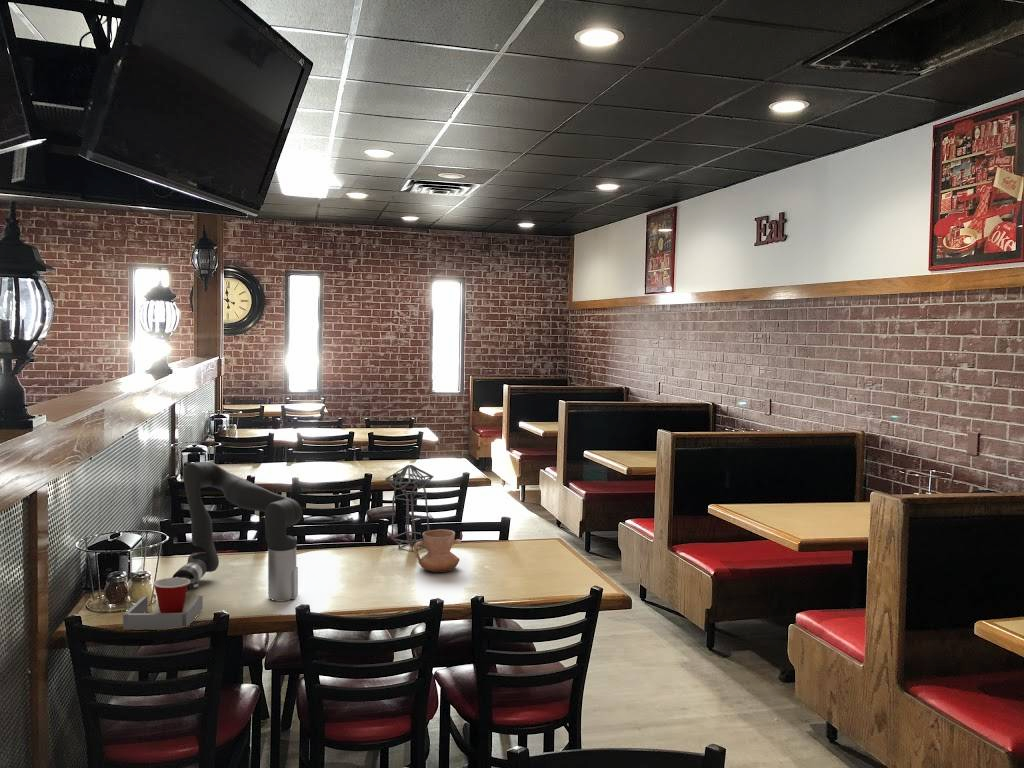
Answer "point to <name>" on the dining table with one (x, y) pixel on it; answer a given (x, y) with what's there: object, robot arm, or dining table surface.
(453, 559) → the ceramic jug
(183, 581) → the plastic cup
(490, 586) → the dining table surface
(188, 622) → the box
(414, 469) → the geometric lantern
